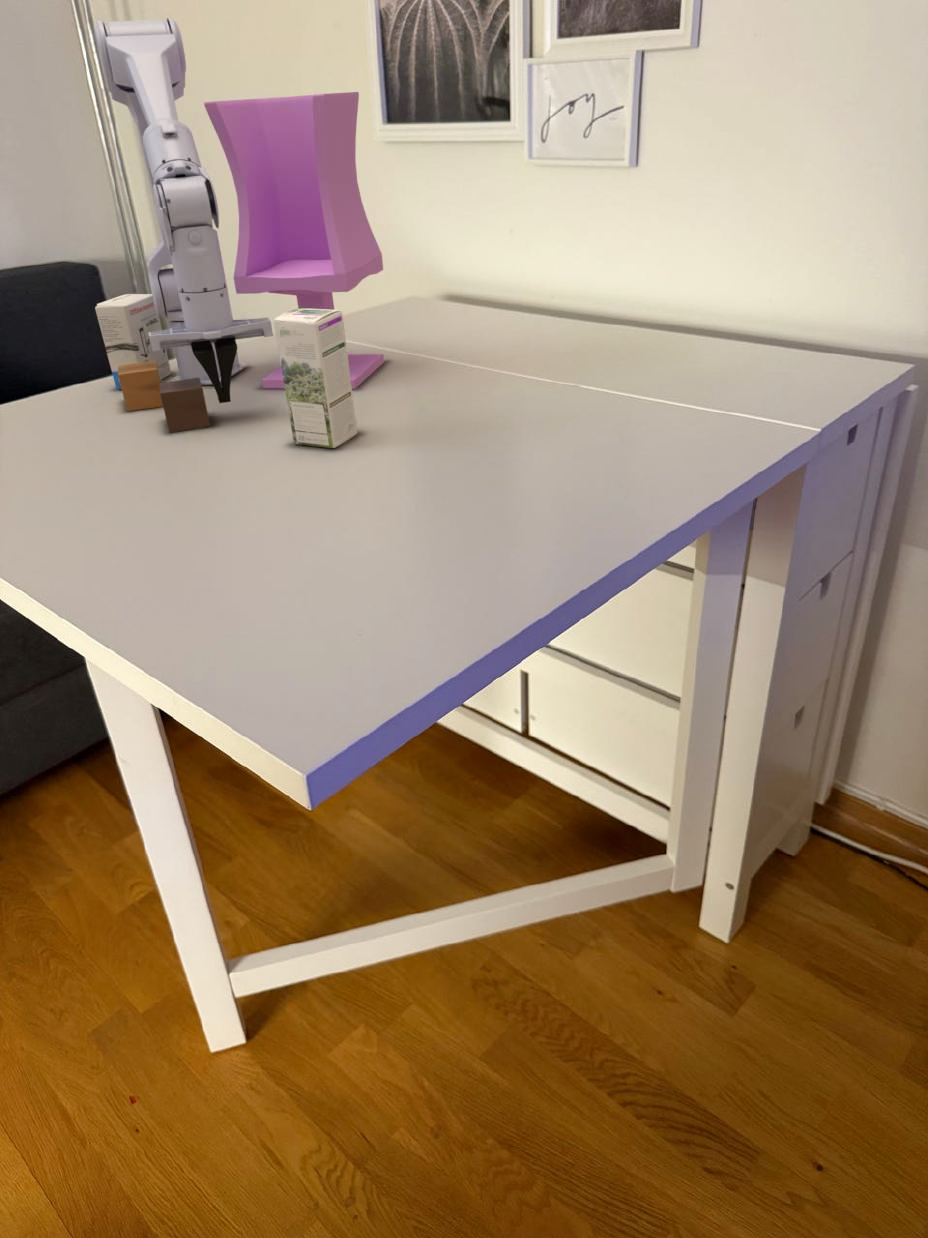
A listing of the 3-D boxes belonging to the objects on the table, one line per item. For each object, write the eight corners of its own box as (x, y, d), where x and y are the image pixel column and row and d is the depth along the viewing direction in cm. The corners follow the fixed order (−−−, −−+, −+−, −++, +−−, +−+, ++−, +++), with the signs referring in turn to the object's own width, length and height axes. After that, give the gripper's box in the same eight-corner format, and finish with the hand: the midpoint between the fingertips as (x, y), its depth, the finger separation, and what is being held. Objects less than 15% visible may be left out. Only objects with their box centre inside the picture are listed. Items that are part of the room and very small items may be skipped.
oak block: (127, 401, 124) (117, 365, 122) (164, 396, 125) (156, 360, 123) (127, 411, 120) (117, 374, 118) (165, 406, 121) (157, 369, 119)
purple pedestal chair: (253, 390, 126) (201, 101, 108) (295, 360, 139) (255, 98, 121) (359, 390, 122) (324, 93, 104) (392, 360, 135) (365, 91, 117)
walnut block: (167, 421, 115) (158, 382, 113) (207, 415, 117) (199, 377, 114) (169, 432, 111) (160, 393, 109) (210, 426, 112) (202, 387, 110)
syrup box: (359, 433, 107) (344, 307, 99) (333, 450, 102) (315, 319, 95) (319, 429, 109) (301, 305, 102) (291, 445, 105) (270, 317, 97)
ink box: (145, 389, 129) (124, 304, 123) (114, 389, 130) (92, 305, 124) (173, 373, 136) (155, 292, 130) (143, 373, 137) (124, 292, 131)
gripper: (140, 301, 102) (167, 417, 109) (267, 286, 105) (286, 400, 112) (139, 291, 108) (164, 402, 115) (260, 277, 111) (278, 386, 118)
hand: (224, 400), depth 114 cm, fingers closed
